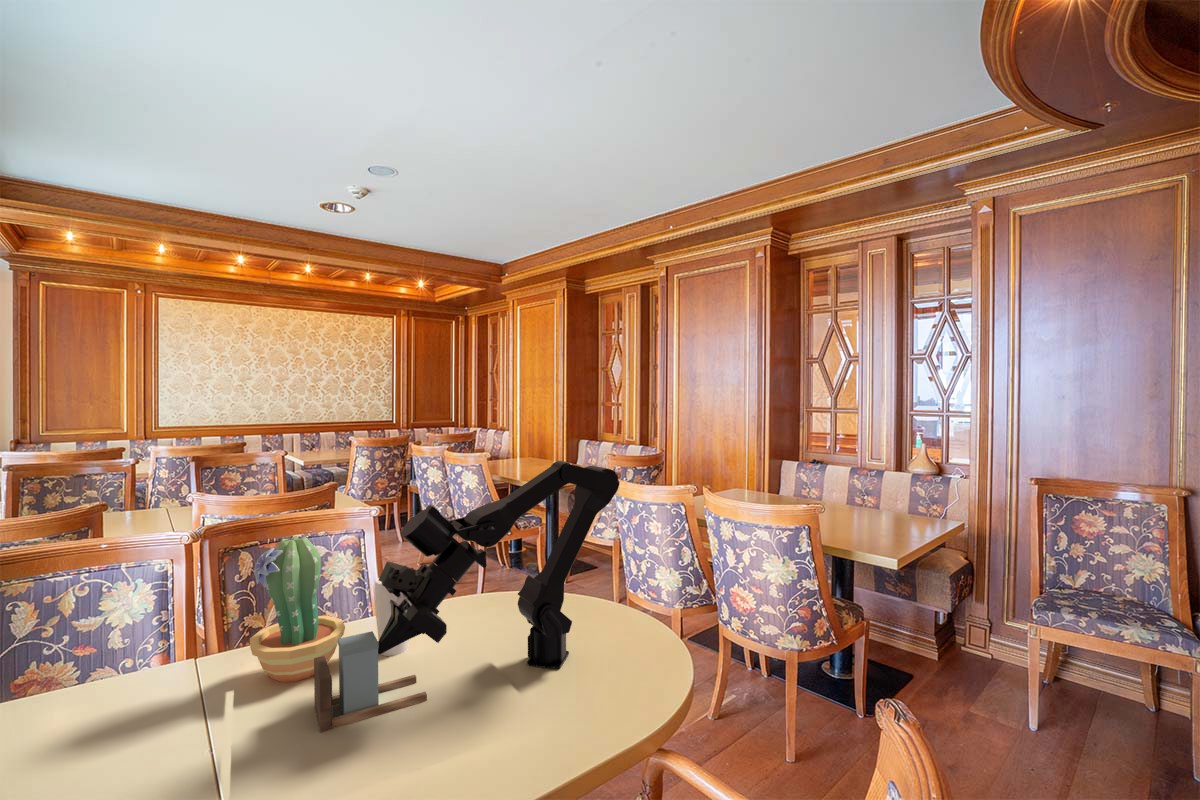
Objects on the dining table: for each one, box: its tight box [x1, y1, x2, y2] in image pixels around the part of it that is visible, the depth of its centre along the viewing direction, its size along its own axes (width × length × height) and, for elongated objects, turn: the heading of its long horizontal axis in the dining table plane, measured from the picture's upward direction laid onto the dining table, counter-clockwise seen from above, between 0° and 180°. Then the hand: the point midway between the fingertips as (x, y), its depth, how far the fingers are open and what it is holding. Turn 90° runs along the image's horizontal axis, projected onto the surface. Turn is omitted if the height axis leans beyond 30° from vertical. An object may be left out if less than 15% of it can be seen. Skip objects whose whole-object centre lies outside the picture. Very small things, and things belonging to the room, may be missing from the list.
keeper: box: [337, 630, 380, 715], centre depth 89 cm, size 5×5×11 cm
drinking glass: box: [374, 576, 409, 657], centre depth 109 cm, size 7×7×15 cm
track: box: [313, 656, 428, 734], centre depth 90 cm, size 16×8×9 cm, turn 122°
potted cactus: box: [249, 535, 346, 683], centre depth 101 cm, size 15×15×25 cm
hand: (376, 652), depth 90 cm, fingers closed, pressing on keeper
